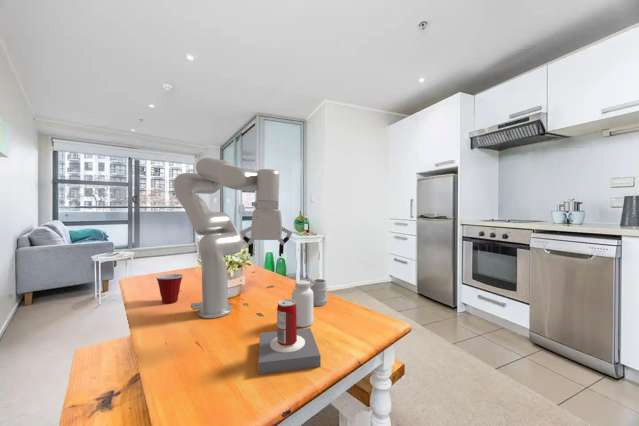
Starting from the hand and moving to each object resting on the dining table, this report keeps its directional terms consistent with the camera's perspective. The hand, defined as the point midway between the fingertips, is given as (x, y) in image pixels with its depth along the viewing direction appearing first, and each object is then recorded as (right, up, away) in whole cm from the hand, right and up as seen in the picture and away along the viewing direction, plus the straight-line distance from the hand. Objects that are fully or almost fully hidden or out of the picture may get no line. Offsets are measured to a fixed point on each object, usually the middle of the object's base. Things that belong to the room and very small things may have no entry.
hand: (266, 255), depth 91 cm
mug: (+17, -25, +24) cm, 38 cm away
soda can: (+9, -23, -14) cm, 28 cm away
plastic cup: (-49, -25, +28) cm, 61 cm away
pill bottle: (+12, -26, +6) cm, 29 cm away
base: (+9, -26, -14) cm, 31 cm away
